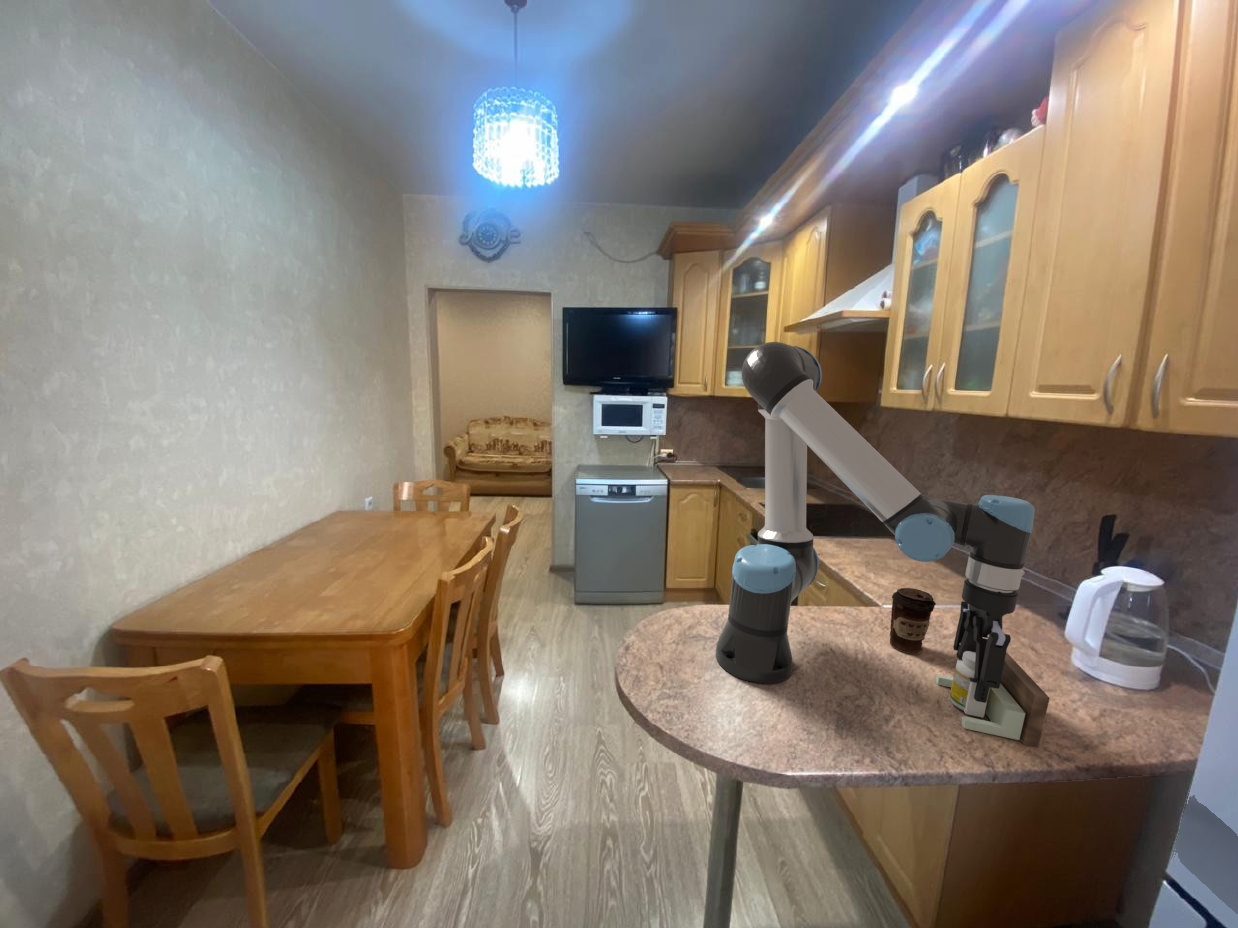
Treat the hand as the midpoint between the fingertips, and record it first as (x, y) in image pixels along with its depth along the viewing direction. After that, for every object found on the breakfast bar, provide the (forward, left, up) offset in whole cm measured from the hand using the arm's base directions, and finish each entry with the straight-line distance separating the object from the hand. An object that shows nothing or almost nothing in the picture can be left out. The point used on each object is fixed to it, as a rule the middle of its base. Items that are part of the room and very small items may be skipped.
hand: (966, 703), depth 87 cm
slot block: (+1, 0, -1) cm, 1 cm away
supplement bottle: (0, 0, 0) cm, 1 cm away
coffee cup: (-5, +20, -1) cm, 20 cm away
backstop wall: (+7, 0, -1) cm, 7 cm away
